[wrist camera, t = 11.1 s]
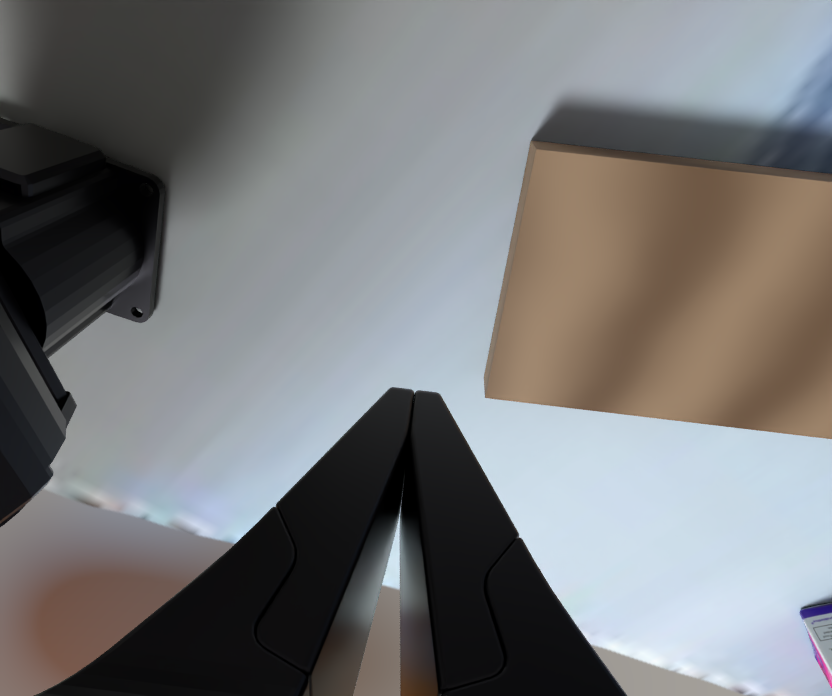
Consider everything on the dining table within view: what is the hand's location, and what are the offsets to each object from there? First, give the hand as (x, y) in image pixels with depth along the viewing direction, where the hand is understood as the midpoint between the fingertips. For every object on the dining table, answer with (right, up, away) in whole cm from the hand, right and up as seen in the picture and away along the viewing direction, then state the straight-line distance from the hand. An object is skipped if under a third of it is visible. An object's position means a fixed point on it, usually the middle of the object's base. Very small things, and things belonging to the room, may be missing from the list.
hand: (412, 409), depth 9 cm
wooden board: (+14, +3, +11) cm, 18 cm away
